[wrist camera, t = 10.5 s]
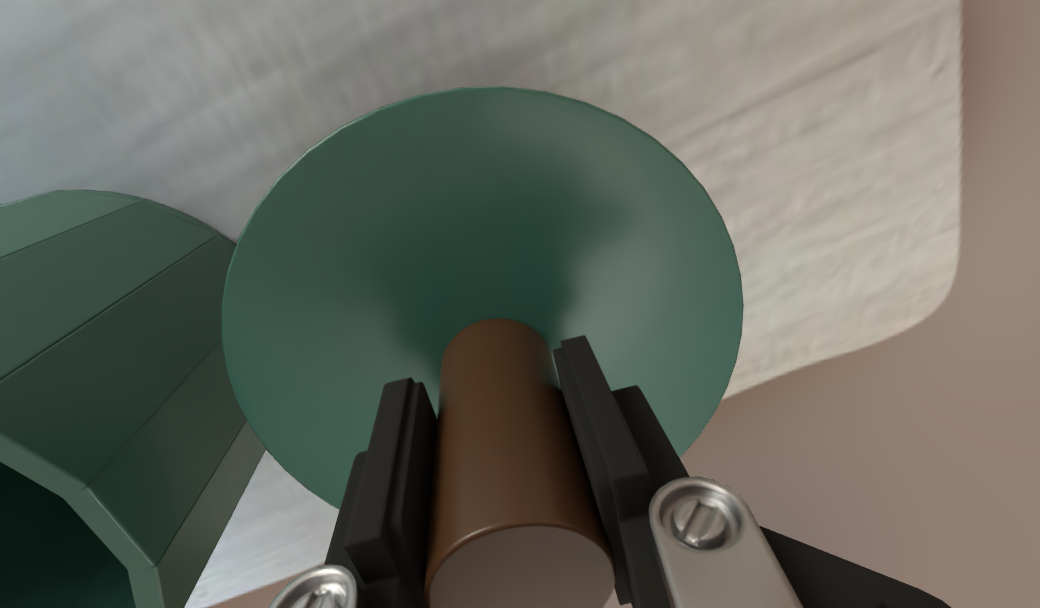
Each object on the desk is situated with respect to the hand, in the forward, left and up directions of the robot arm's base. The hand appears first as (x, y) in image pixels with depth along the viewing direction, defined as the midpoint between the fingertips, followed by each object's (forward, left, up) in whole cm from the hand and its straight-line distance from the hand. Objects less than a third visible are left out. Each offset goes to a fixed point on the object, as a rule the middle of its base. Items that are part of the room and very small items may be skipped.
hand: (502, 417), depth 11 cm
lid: (0, 0, -3) cm, 3 cm away
